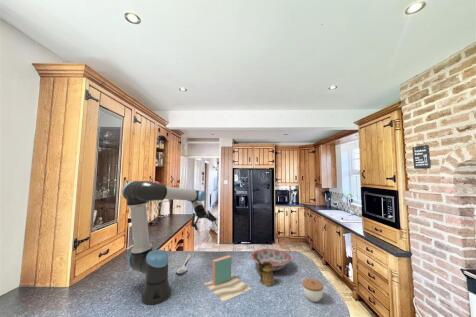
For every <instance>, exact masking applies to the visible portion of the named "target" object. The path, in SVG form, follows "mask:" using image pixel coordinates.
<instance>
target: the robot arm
mask: <svg viewBox="0 0 476 317" xmlns="http://www.w3.org/2000/svg"><path fill="white" fill-rule="evenodd" d="M121 192H122V197H123V199H125V200H126V206H127V207H129V210H130V217H131V218H130V219H131V233H132V243H133V247H132V248H131V250H130V255H129V256H128V259H127V263H128V266H129V267H130V268H131V269H133V271H136V272H138V273H141V274H142V275H143V274H144V275H145V284H144V288H143V292H142V293H141V302H142V303H143V304H145V305H153V306H154V305H157V304H160V303H163V302H164V301H166V300H168V299H169V298H170V296H171V294H172V290H171V289H172V288H171V286H170V282H169V260H170V259H169V254H168V252H167V251H166V250H164V249H154V248H153V244H152V243H150V236H149V224H148V213H147V212H148V211H147V205H148V203H149V202H151V201H152V202H153V201H164V200H174V201H175V200H176V201H177V200H178V201H188V202H190V203H191V206H192V209H193V213H192V214H191V216H192V218H191V224H190V226H191V227H193V228H194V230H195V231H196V233H197V235H198V236H199V235H201V233H202V232H201V230H200V228H199V227H200V226H199V225H198V221H199V219H207V220H209V221H210V222H212V223H211V224H212V227H213V229H214V231H215V232H216V231H217V230H218V227H217V220H218V218H217V217H216V216H215V215H213V214H212V213H211V212H210V210H209V209H208V210H207V211H206V210H205V206H204V204H203V202H205V200H206V199H207V193H206V191H204V190H201V189H200V190H198V189H197V190H196V189H189V188H180V187H174V186H167V184H166V185H165V184H163V183H158V182H154V181H148V180H133V181H129V182H127V183H126V184H125V185H124V186H123V187H122V191H121ZM196 217H197V218H196ZM195 218H196V220H195Z"/></svg>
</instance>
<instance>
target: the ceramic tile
mask: <svg viewBox="0 0 476 317" xmlns="http://www.w3.org/2000/svg"><path fill="white" fill-rule="evenodd" d="M231 274H232V256H231V255H229V254H228V255H225V256H222V257H221V256H220V257H219V258H218V257H217V258H215V259H212V280H213V285H214V286H216V285H219V284H221V283H224V282H226V281H229V280H231Z"/></svg>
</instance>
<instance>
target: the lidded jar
mask: <svg viewBox="0 0 476 317" xmlns="http://www.w3.org/2000/svg"><path fill="white" fill-rule="evenodd" d="M301 284H302V292H303V293H304V296H305V297H306V298H307V300H308V301H310V302H312V303H318V302H319V301H320V300H321V299H322V298H323V296H324V284H323V282H321V280H317V279H315V278H305V279H303V280H302V282H301Z"/></svg>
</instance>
